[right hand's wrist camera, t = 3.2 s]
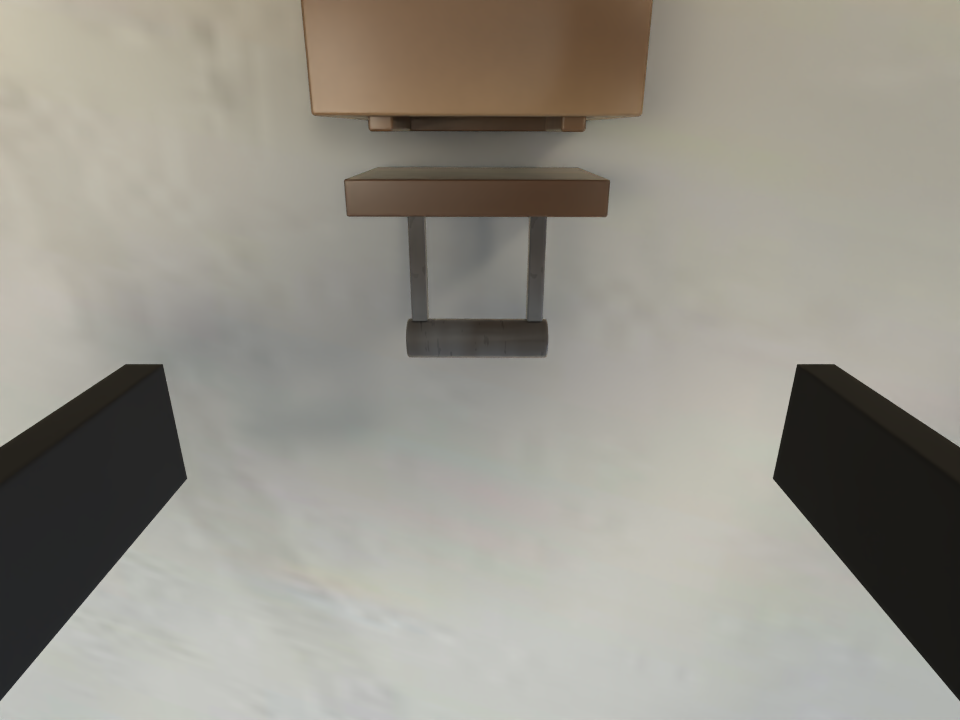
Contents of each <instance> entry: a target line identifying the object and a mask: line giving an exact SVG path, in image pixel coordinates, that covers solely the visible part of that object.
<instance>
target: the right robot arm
mask: <svg viewBox="0 0 960 720" xmlns="http://www.w3.org/2000/svg"><path fill="white" fill-rule="evenodd" d="M186 479H187V476H186V471H185V467H184V462H183V457H182V453H181V448H180V443H179V438H178V434H177V429H176V424H175V420H174V415H173V410H172V406H171V401H170V396H169V391H168V387H167V382H166V377H165V373H164V368H163V364H125V365H124V366H122V367H121V368H119V369H118V370H116V371H115V372H113V373H112V374H110V375H109V376H107V377H106V378H104V379H103V380H101V381H100V382H98V383H97V384H95V385H94V386H92V387H91V388H89V389H88V390H86V391H85V392H83V393H82V394H80V395H79V396H77V397H76V398H74V399H73V400H71V401H70V402H68V403H67V404H65V405H64V406H62V407H60V408H59V409H57V410H56V411H54V412H53V413H51V414H50V415H48V416H47V417H45V418H44V419H42V420H41V421H39V422H38V423H36V424H35V425H33V426H32V427H30V428H29V429H27V430H26V431H24V432H23V433H21V434H20V435H18V436H17V437H15V438H14V439H12V440H11V441H9V442H8V443H6V444H5V445H3V446H2V447H0V701H1V699H2V698H3V697H4V696H5V695H6V693H7V692H8V691H9V690H10V689H11V688H12V686H13V685H14V684H15V683H16V682H17V680H18V679H19V678H20V677H21V676H22V674H23V673H24V672H25V671H26V670H27V668H28V667H29V666H30V665H31V664H32V663H33V661H34V660H35V659H36V658H37V657H38V655H39V654H40V653H41V652H42V651H43V649H44V648H45V647H46V646H47V645H48V643H49V642H50V641H51V640H52V639H53V638H54V636H55V635H56V634H57V633H58V632H59V630H60V629H61V628H62V627H63V626H64V624H65V623H66V622H67V621H68V620H69V618H70V617H71V616H72V615H73V614H74V613H75V611H76V610H77V609H78V608H79V607H80V605H81V604H82V603H83V602H84V601H85V599H86V598H87V597H88V596H89V595H90V593H91V592H92V591H93V590H94V589H95V588H96V586H97V585H98V584H99V583H100V582H101V580H102V579H103V578H104V577H105V576H106V574H107V573H108V572H109V571H110V570H111V569H112V567H113V566H114V565H115V564H116V563H117V561H118V560H119V559H120V558H121V557H122V555H123V554H124V553H125V552H126V551H127V549H128V548H129V547H130V546H131V545H132V544H133V542H134V541H135V540H136V539H137V538H138V536H139V535H140V534H141V533H142V532H143V530H144V529H145V528H146V527H147V526H148V524H149V523H150V522H151V521H152V520H153V519H154V517H155V516H156V515H157V514H158V513H159V511H160V510H161V509H162V508H163V507H164V505H165V504H166V503H167V502H168V501H169V499H170V498H171V497H172V496H173V495H174V494H175V492H176V491H177V490H178V489H179V488H180V486H181V485H182V484H183V483H184V482H185V480H186ZM773 479H774V480H775V482H776V483H777V484H778V485H779V486H780V488H781V489H782V490H783V491H784V492H785V494H786V495H787V496H788V497H789V498H790V499H791V501H792V502H793V503H794V504H795V505H796V507H797V508H798V509H799V510H800V511H801V513H802V514H803V515H804V516H805V517H806V519H807V520H808V521H809V522H810V523H811V524H812V526H813V527H814V528H815V529H816V530H817V532H818V533H819V534H820V535H821V536H822V538H823V539H824V540H825V541H826V542H827V544H828V545H829V546H830V547H831V548H832V549H833V551H834V552H835V553H836V554H837V555H838V557H839V558H840V559H841V560H842V561H843V563H844V564H845V565H846V566H847V567H848V569H849V570H850V571H851V572H852V573H853V574H854V576H855V577H856V578H857V579H858V580H859V582H860V583H861V584H862V585H863V586H864V588H865V589H866V590H867V591H868V592H869V594H870V595H871V596H872V597H873V598H874V599H875V601H876V602H877V603H878V604H879V605H880V607H881V608H882V609H883V610H884V611H885V613H886V614H887V615H888V616H889V617H890V618H891V620H892V621H893V622H894V623H895V624H896V626H897V627H898V628H899V629H900V630H901V632H902V633H903V634H904V635H905V636H906V638H907V639H908V640H909V641H910V642H911V643H912V645H913V646H914V647H915V648H916V649H917V651H918V652H919V653H920V654H921V655H922V657H923V658H924V659H925V660H926V661H927V663H928V664H929V665H930V666H931V667H932V668H933V670H934V671H935V672H936V673H937V674H938V676H939V677H940V678H941V679H942V680H943V682H944V683H945V684H946V685H947V686H948V688H949V689H950V690H951V691H952V692H953V693H954V695H955V696H956V697H957V698H958V699H959V701H960V447H958V446H957V445H955V444H954V443H952V442H951V441H949V440H948V439H946V438H945V437H943V436H942V435H940V434H939V433H937V432H936V431H934V430H933V429H931V428H930V427H928V426H927V425H925V424H924V423H922V422H921V421H919V420H918V419H916V418H915V417H913V416H912V415H910V414H909V413H907V412H906V411H904V410H903V409H901V408H900V407H898V406H896V405H895V404H893V403H892V402H890V401H889V400H887V399H886V398H884V397H883V396H881V395H880V394H878V393H877V392H875V391H874V390H872V389H871V388H869V387H868V386H866V385H865V384H863V383H862V382H860V381H859V380H857V379H856V378H854V377H853V376H851V375H850V374H848V373H847V372H845V371H844V370H842V369H841V368H839V367H838V366H836V365H835V364H797V368H796V373H795V377H794V382H793V387H792V391H791V396H790V401H789V406H788V410H787V415H786V420H785V424H784V429H783V434H782V438H781V443H780V448H779V453H778V457H777V462H776V467H775V471H774V476H773Z"/></svg>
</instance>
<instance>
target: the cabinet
mask: <svg viewBox="0 0 960 720" xmlns="http://www.w3.org/2000/svg"><path fill="white" fill-rule="evenodd" d="M652 4H653V0H301V7H302V17H303V28H304V38H305V49H306V59H307V70H308V80H309V91H310V101H311V112H312V114H313V115H315V116H324V117H336V118H348V119H361V120H368V116H479V117H586V120H600V119H613V118H625V117H636V116H641V114H642V109H643V99H644V88H645V78H646V67H647V57H648V46H649V35H650V25H651V14H652Z"/></svg>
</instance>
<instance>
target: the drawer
mask: <svg viewBox="0 0 960 720" xmlns="http://www.w3.org/2000/svg"><path fill="white" fill-rule="evenodd" d="M368 125H369V130H370V131H556V132H583V131H585V129H586V117H479V116H368ZM344 186H345V198H346V211H347V216H352V217H408V235H409V258H410V282H411V305H412V319H408V322H407V329H406V346H407V354H408V357H448V358H545V357H546V356H547V351H548V324H547V320H546V319H543V295H544V272H545V248H546V225H547V217H607V213H608V200H609V188H610V180H608V179H605V178H603V177H600V176H598V175H595V174H593V173H590V172H588V171H585V170H582V169H580V168H468V167H378V168H375V169H372V170H369V171H367V172H364V173H361V174H359V175H356V176H353V177H350V178H348V179H345V180H344ZM426 217H529V237H528V268H527V300H526V318H527V319H428V317H429V308H428V277H427V245H426Z"/></svg>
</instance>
